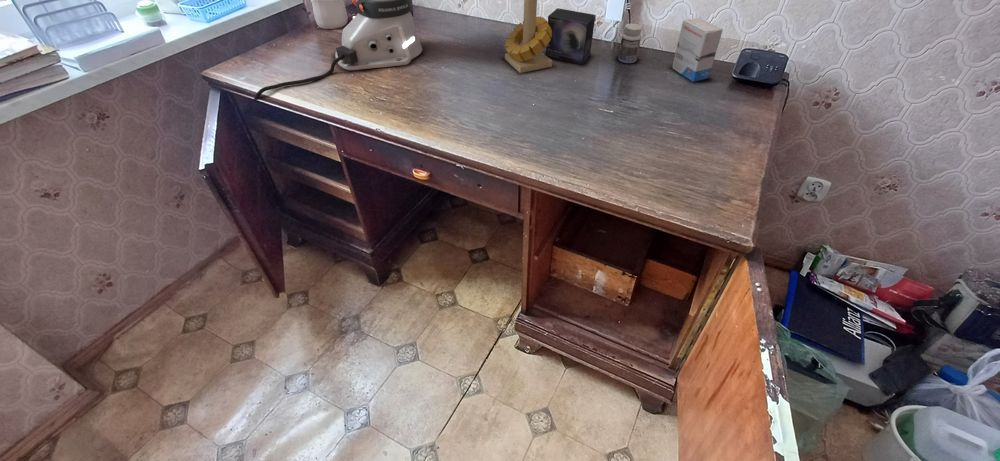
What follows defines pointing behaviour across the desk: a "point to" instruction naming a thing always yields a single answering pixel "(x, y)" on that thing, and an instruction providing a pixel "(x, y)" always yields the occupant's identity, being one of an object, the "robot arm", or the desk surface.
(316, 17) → the cup
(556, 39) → the small box
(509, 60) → the tan peg stand
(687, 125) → the desk surface
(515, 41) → the ring
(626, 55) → the pill bottle
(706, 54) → the ink box
